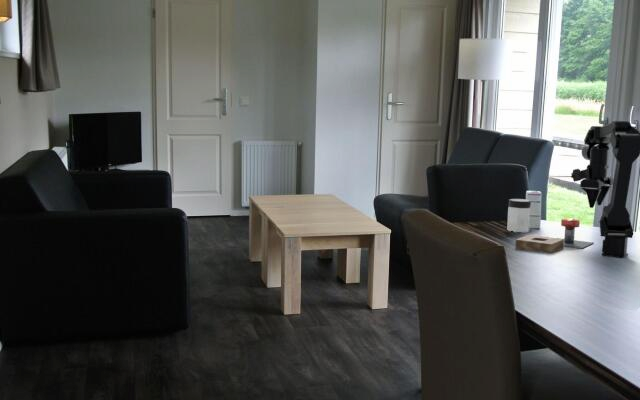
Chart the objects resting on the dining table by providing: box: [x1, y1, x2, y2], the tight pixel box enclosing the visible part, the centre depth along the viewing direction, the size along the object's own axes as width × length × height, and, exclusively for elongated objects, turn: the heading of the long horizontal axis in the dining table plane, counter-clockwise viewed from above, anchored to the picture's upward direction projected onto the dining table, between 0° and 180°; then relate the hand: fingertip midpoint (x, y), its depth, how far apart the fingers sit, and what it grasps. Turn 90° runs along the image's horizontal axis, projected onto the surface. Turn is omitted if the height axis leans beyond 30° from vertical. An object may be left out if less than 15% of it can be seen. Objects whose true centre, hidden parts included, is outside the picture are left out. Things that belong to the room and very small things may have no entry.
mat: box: [557, 237, 594, 250], centre depth 242 cm, size 13×13×1 cm
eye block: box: [514, 234, 564, 254], centre depth 233 cm, size 12×12×3 cm
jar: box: [506, 198, 531, 233], centre depth 267 cm, size 9×8×12 cm
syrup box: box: [525, 190, 543, 229], centre depth 275 cm, size 6×6×14 cm
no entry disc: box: [560, 218, 581, 244], centre depth 241 cm, size 6×6×8 cm
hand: (595, 206), depth 243 cm, fingers open, 9 cm apart
